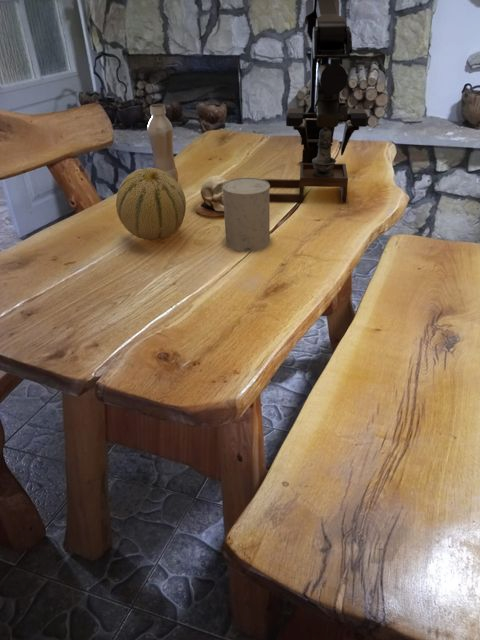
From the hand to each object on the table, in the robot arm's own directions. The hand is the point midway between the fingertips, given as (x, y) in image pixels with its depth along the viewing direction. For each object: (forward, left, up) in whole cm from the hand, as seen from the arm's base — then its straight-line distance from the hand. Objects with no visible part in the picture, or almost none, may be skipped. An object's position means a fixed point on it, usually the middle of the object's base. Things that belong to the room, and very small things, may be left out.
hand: (324, 154), depth 133 cm
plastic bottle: (+27, -31, -10) cm, 42 cm away
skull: (+25, -9, -10) cm, 29 cm away
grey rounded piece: (0, 0, -5) cm, 5 cm away
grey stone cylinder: (+31, +10, -10) cm, 34 cm away
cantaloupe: (+45, -5, -10) cm, 47 cm away
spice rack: (+4, -4, -10) cm, 12 cm away
